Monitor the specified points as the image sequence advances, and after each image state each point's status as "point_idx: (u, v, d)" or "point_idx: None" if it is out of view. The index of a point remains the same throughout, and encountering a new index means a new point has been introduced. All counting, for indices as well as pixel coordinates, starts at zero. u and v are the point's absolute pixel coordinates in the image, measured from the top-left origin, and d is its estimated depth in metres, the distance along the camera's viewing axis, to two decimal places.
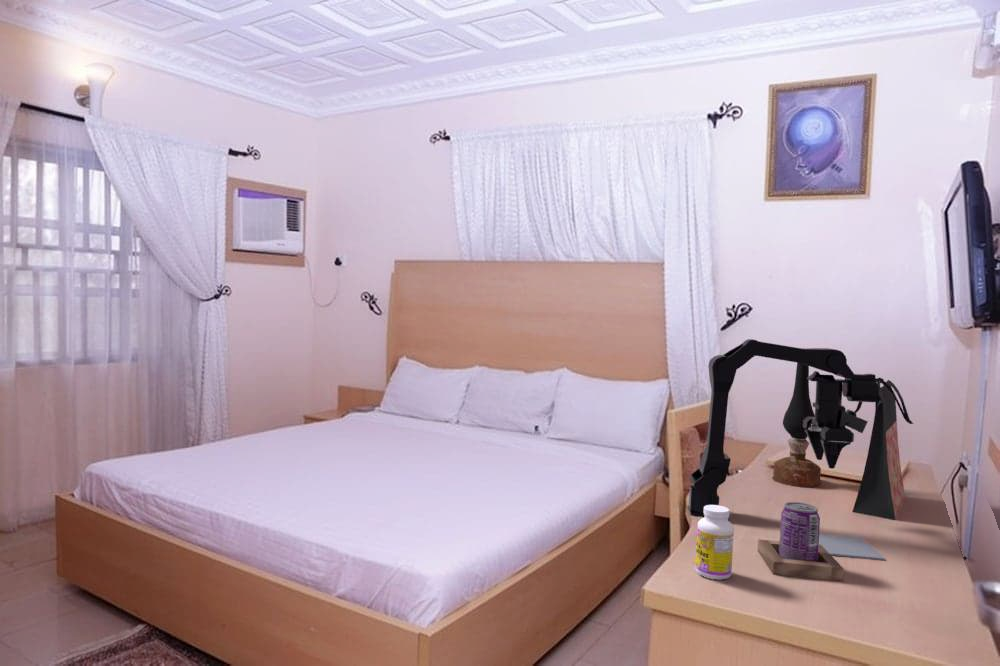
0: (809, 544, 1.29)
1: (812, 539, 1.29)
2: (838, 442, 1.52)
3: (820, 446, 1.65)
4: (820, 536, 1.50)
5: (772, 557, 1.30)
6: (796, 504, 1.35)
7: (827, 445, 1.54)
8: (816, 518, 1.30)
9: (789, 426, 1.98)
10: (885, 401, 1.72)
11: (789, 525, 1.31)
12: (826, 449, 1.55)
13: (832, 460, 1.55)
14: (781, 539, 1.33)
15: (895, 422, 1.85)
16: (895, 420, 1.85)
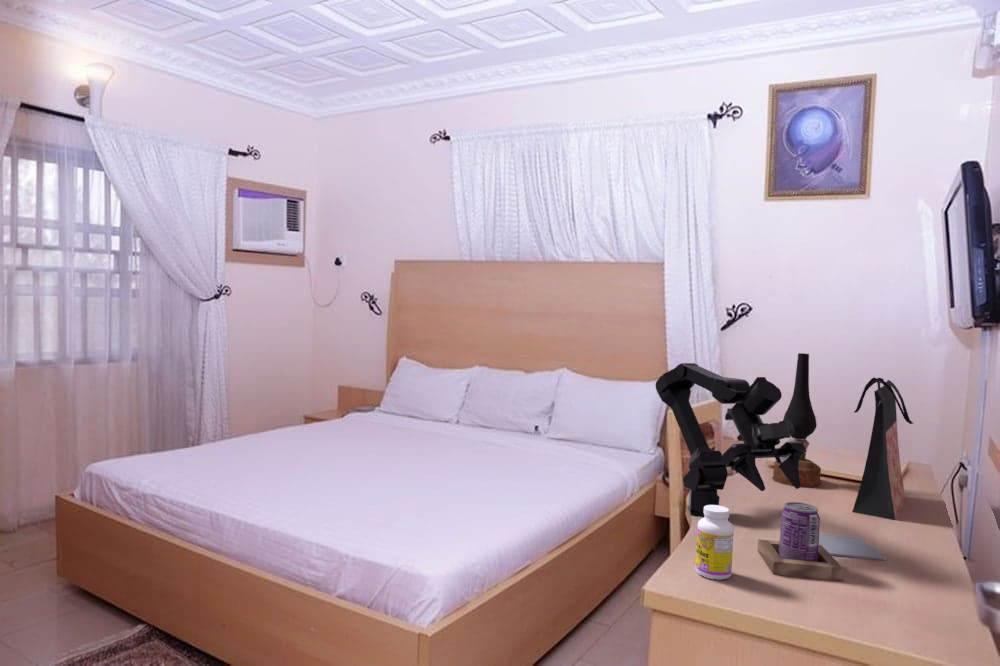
0: (809, 544, 1.29)
1: (812, 539, 1.29)
2: (737, 461, 1.42)
3: (791, 473, 1.44)
4: (820, 536, 1.50)
5: (772, 557, 1.30)
6: (796, 504, 1.35)
7: (740, 470, 1.43)
8: (816, 518, 1.30)
9: None
10: (885, 401, 1.72)
11: (789, 525, 1.31)
12: (743, 474, 1.42)
13: (755, 481, 1.40)
14: (781, 539, 1.33)
15: (895, 422, 1.85)
16: (895, 420, 1.85)
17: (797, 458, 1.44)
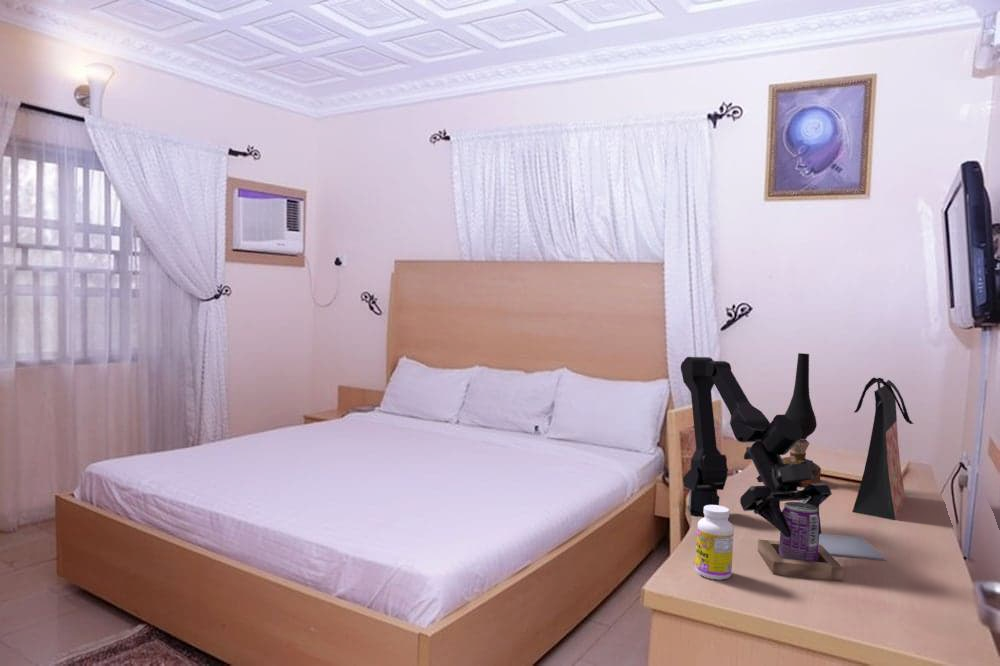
0: (809, 544, 1.29)
1: (812, 539, 1.29)
2: (760, 505, 1.34)
3: None
4: (820, 536, 1.50)
5: (772, 557, 1.30)
6: (796, 504, 1.35)
7: (764, 514, 1.35)
8: (816, 518, 1.30)
9: None
10: (885, 401, 1.72)
11: (789, 524, 1.31)
12: (767, 518, 1.34)
13: (780, 526, 1.32)
14: (781, 539, 1.33)
15: (895, 422, 1.85)
16: (895, 420, 1.85)
17: (817, 501, 1.35)
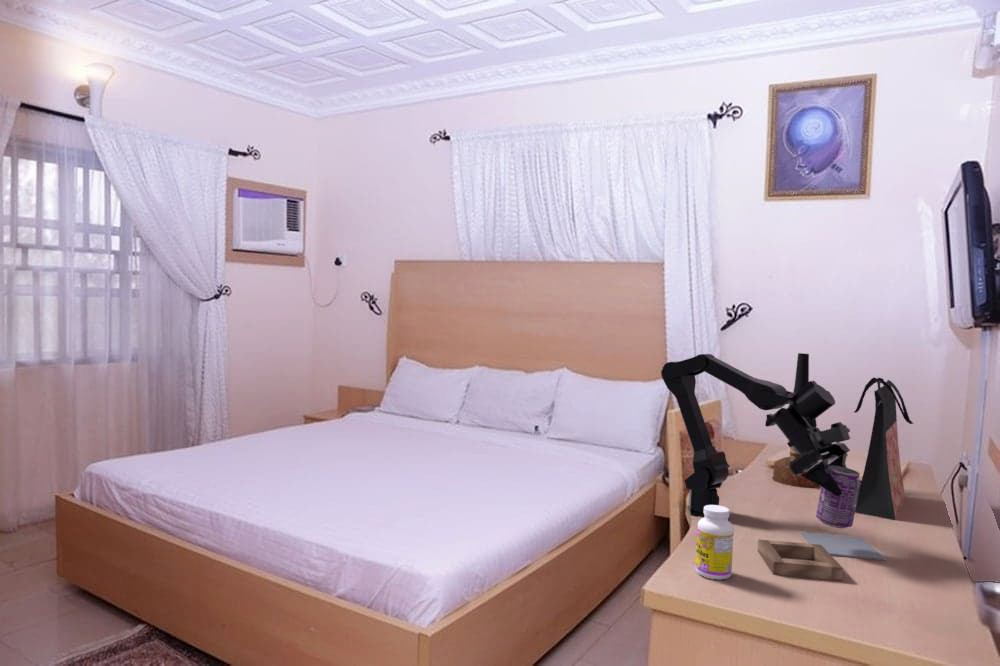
0: (854, 504, 1.39)
1: (856, 500, 1.39)
2: (811, 468, 1.39)
3: None
4: (820, 536, 1.50)
5: (772, 557, 1.30)
6: (834, 467, 1.43)
7: (811, 477, 1.40)
8: None
9: None
10: (885, 401, 1.72)
11: None
12: (814, 481, 1.40)
13: (830, 487, 1.39)
14: (826, 501, 1.40)
15: (895, 422, 1.85)
16: (895, 420, 1.85)
17: (844, 459, 1.46)
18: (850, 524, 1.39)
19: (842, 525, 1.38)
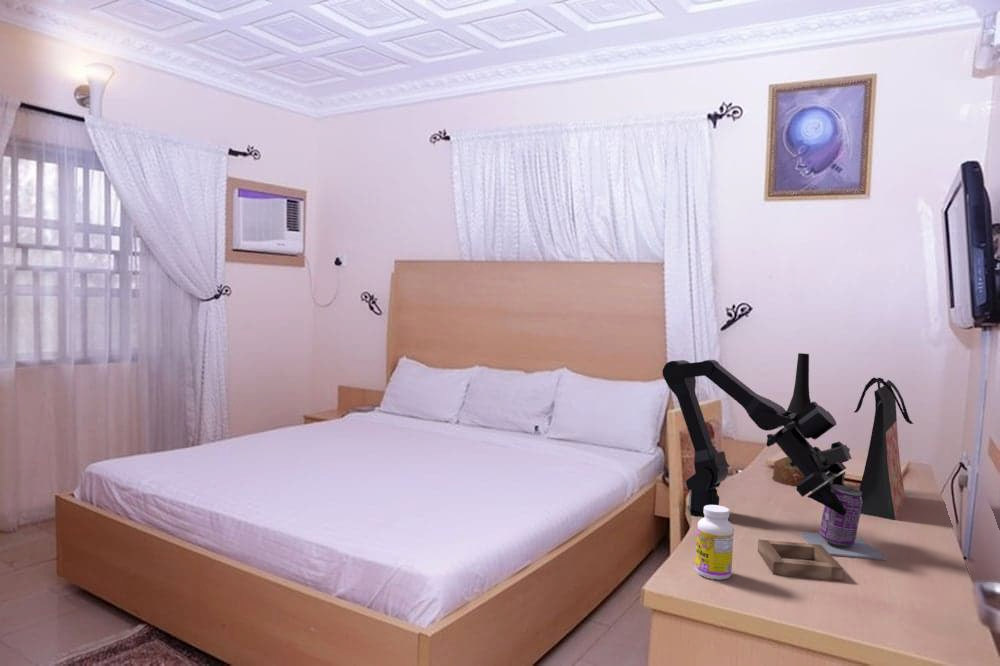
0: (857, 523, 1.42)
1: None
2: (818, 489, 1.41)
3: None
4: (820, 536, 1.50)
5: (772, 557, 1.30)
6: (836, 486, 1.46)
7: (816, 497, 1.43)
8: None
9: (789, 426, 1.98)
10: (885, 401, 1.72)
11: (844, 507, 1.41)
12: (820, 501, 1.43)
13: (836, 506, 1.42)
14: (830, 520, 1.43)
15: (895, 422, 1.85)
16: (895, 420, 1.85)
17: (843, 478, 1.49)
18: (853, 542, 1.43)
19: (846, 543, 1.42)
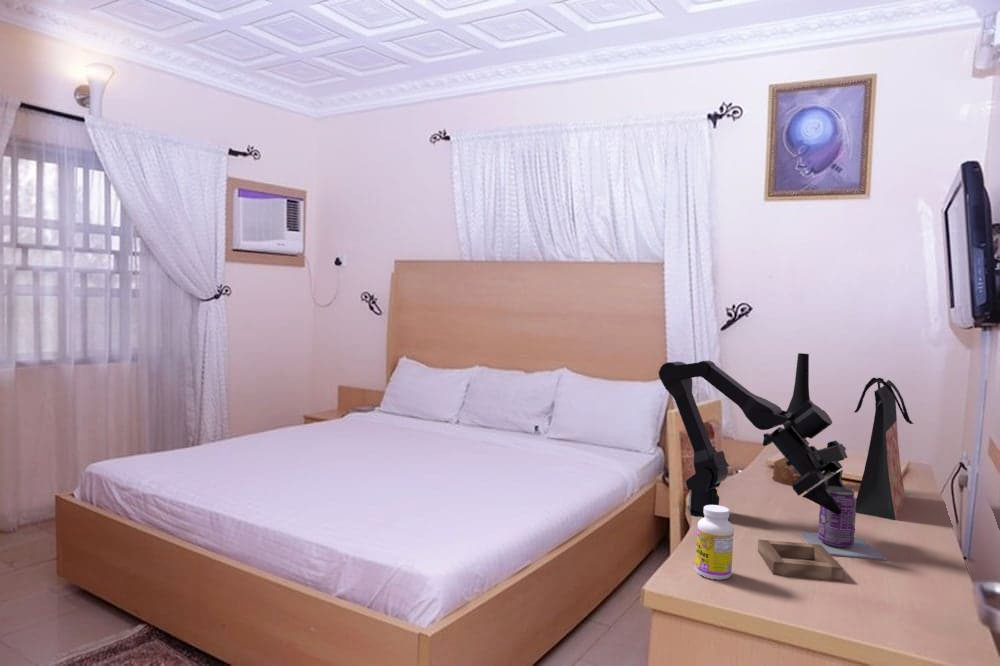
0: (853, 522, 1.43)
1: None
2: (813, 489, 1.41)
3: None
4: None
5: (772, 557, 1.30)
6: (829, 488, 1.47)
7: (811, 496, 1.43)
8: (855, 499, 1.44)
9: None
10: (885, 401, 1.72)
11: None
12: (815, 500, 1.43)
13: (830, 506, 1.41)
14: (827, 522, 1.43)
15: (895, 422, 1.85)
16: (895, 420, 1.85)
17: (841, 476, 1.50)
18: (852, 542, 1.43)
19: (845, 544, 1.42)
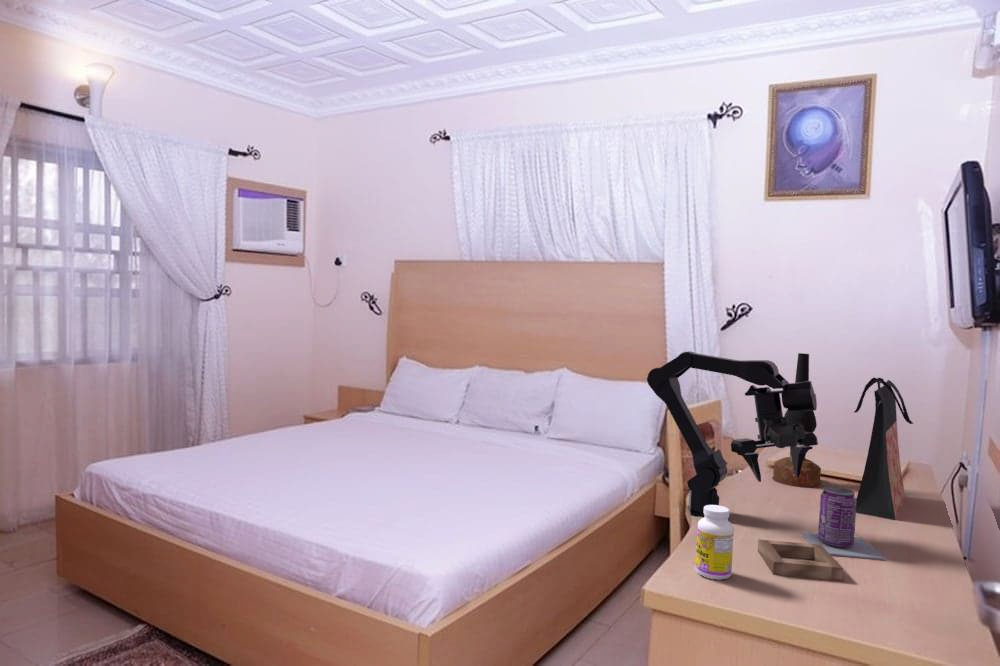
0: (854, 523, 1.42)
1: (855, 518, 1.43)
2: (741, 454, 1.55)
3: (795, 462, 1.56)
4: None
5: (772, 557, 1.30)
6: (829, 488, 1.47)
7: (745, 457, 1.57)
8: (855, 499, 1.43)
9: None
10: (885, 401, 1.72)
11: (839, 508, 1.42)
12: (746, 461, 1.57)
13: (754, 472, 1.56)
14: (827, 523, 1.43)
15: (895, 422, 1.85)
16: (895, 420, 1.85)
17: (804, 451, 1.54)
18: (852, 542, 1.43)
19: (845, 544, 1.42)
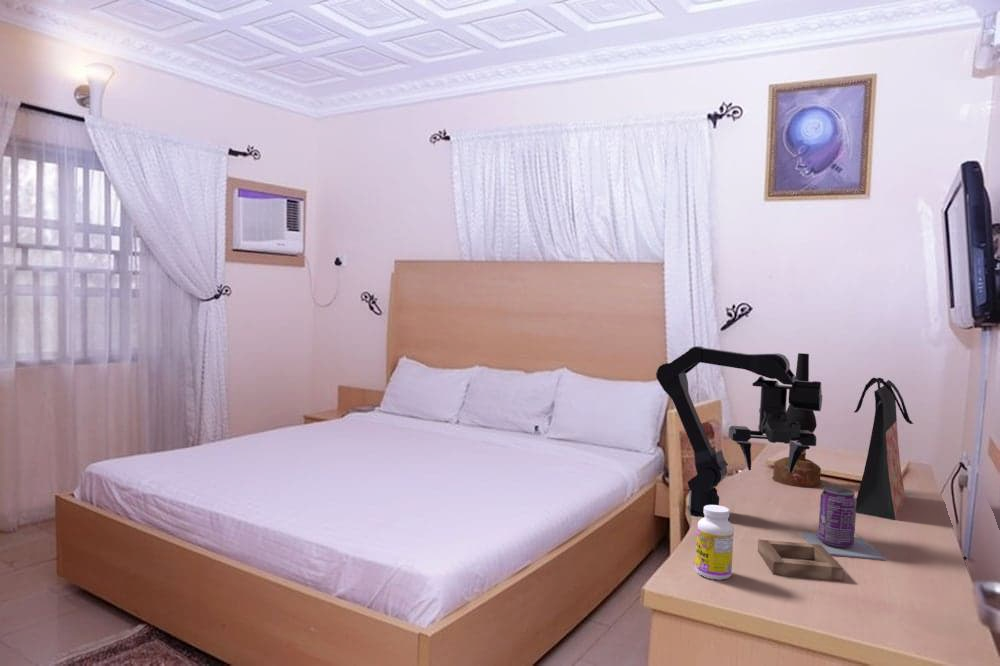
0: (854, 523, 1.42)
1: (855, 518, 1.43)
2: (736, 440, 1.58)
3: (790, 459, 1.56)
4: None
5: (772, 557, 1.30)
6: (829, 488, 1.47)
7: None
8: None
9: None
10: (885, 401, 1.72)
11: (839, 508, 1.42)
12: (741, 448, 1.60)
13: (746, 460, 1.58)
14: (827, 523, 1.43)
15: (895, 422, 1.85)
16: (895, 420, 1.85)
17: (800, 450, 1.54)
18: (852, 542, 1.43)
19: (845, 544, 1.42)
